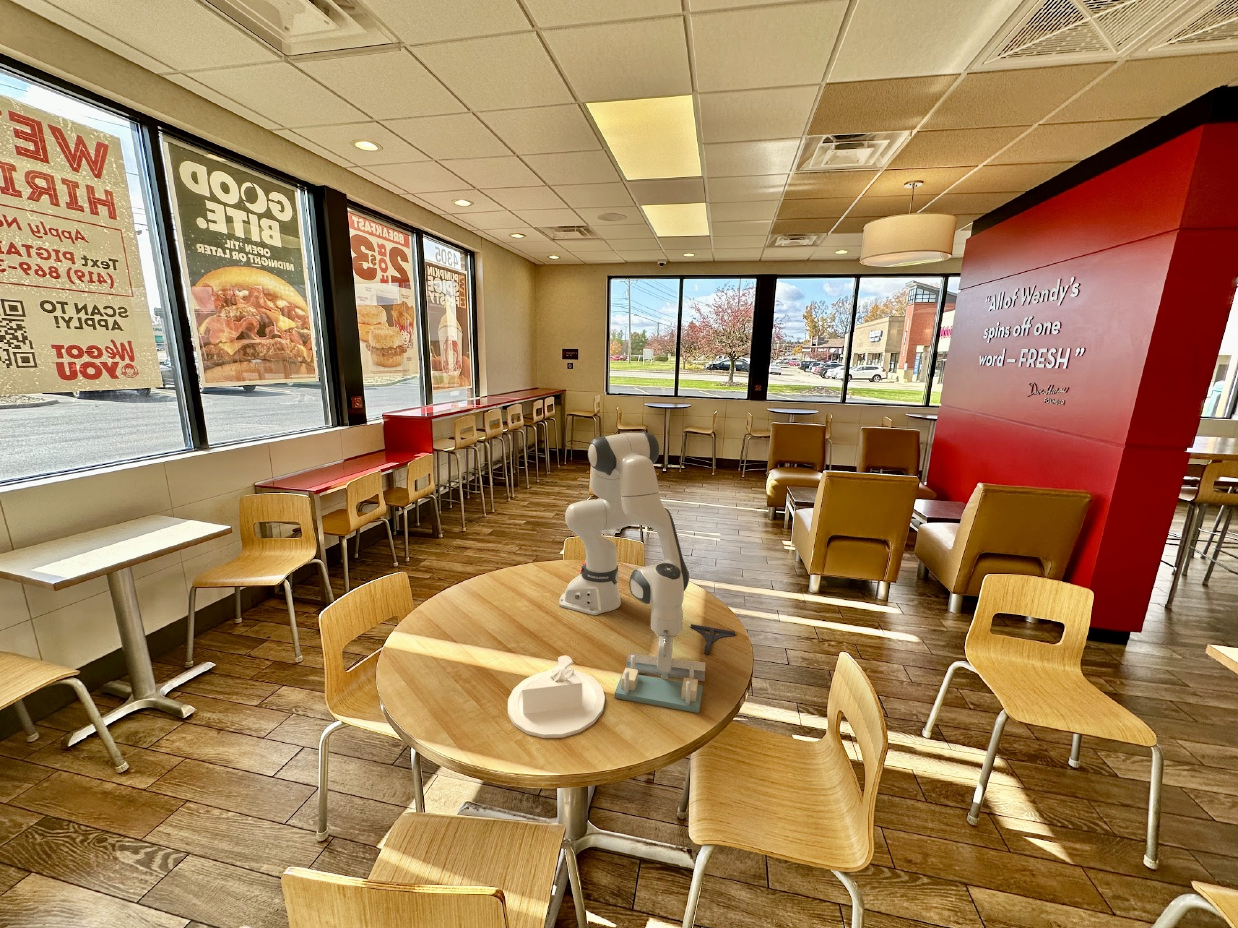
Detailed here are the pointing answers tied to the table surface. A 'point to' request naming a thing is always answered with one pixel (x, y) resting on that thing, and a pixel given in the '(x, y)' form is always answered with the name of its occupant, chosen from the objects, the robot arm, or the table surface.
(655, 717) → the table surface
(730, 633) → the bracket
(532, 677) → the dish
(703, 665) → the long grey flat plank
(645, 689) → the rack
